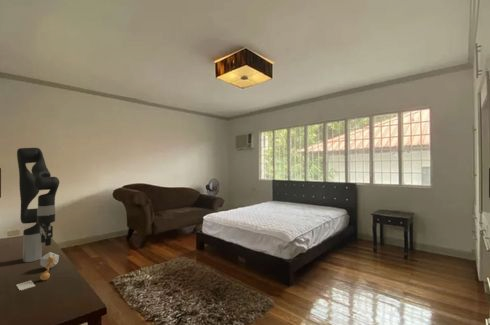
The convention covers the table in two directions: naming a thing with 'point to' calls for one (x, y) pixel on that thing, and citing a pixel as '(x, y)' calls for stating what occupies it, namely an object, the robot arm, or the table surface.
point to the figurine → (46, 275)
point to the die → (45, 259)
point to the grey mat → (25, 285)
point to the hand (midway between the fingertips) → (45, 243)
